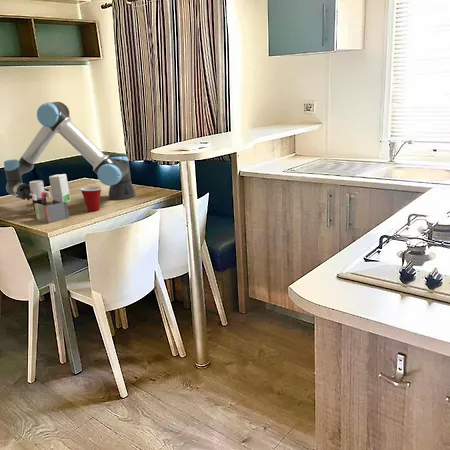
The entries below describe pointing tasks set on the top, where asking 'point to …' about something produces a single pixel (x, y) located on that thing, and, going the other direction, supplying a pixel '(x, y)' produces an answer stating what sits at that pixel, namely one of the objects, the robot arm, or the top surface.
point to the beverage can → (37, 191)
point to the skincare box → (60, 187)
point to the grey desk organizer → (52, 211)
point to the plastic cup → (92, 198)
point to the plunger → (44, 202)
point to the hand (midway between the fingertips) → (42, 196)
